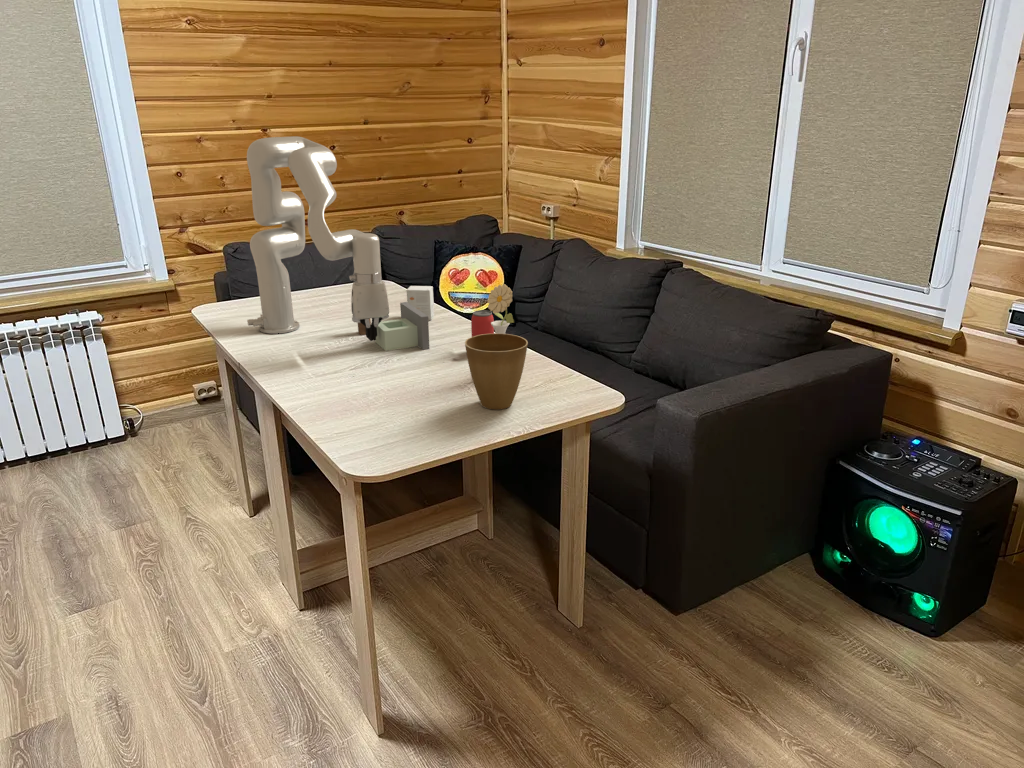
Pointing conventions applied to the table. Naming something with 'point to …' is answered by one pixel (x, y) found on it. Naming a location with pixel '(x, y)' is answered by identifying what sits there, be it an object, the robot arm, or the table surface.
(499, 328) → the flower in vase
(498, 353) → the plant pot
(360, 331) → the walnut dowel
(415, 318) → the board
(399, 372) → the table surface
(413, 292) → the small box
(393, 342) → the sage block
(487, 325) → the beer can
